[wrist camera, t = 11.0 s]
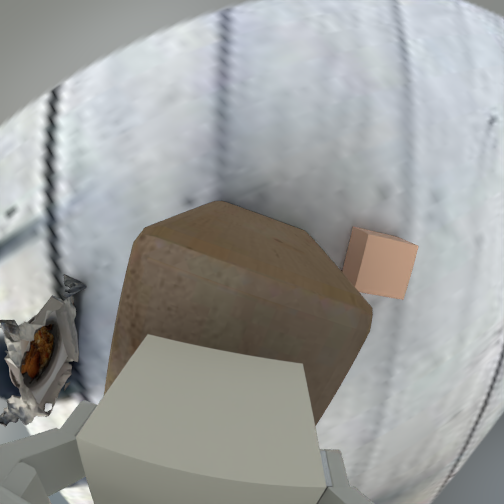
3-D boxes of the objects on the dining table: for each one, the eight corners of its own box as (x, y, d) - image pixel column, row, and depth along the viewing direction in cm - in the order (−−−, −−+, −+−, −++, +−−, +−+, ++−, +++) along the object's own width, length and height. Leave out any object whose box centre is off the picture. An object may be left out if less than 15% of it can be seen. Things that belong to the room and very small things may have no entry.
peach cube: (397, 236, 31) (418, 246, 26) (384, 283, 32) (403, 299, 27) (352, 226, 31) (368, 234, 26) (340, 275, 32) (353, 290, 27)
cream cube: (302, 363, 10) (326, 487, 5) (269, 462, 11) (270, 567, 6) (147, 334, 10) (75, 437, 5) (145, 438, 11) (105, 534, 6)
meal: (60, 271, 33) (-16, 311, 20) (89, 285, 33) (18, 333, 20) (51, 370, 36) (-2, 423, 23) (77, 384, 36) (28, 443, 23)
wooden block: (312, 232, 31) (389, 312, 11) (275, 323, 33) (287, 479, 13) (213, 196, 30) (130, 221, 11) (183, 291, 32) (95, 418, 13)
